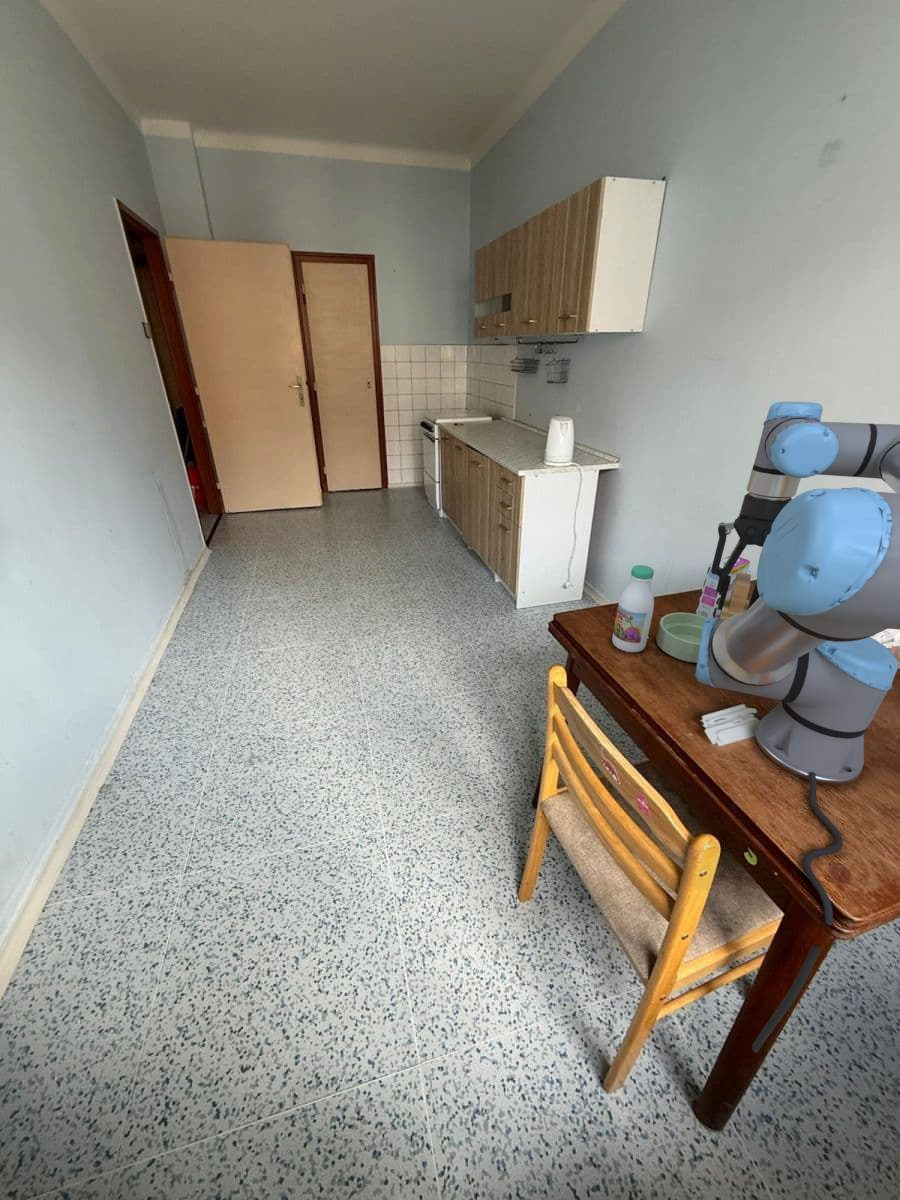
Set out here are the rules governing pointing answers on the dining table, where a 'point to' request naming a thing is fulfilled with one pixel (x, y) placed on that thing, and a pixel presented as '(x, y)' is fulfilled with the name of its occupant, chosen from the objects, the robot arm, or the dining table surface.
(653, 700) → the dining table surface
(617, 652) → the dining table surface
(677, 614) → the bowl
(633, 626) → the milk bottle
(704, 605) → the candy bar box
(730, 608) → the brush
